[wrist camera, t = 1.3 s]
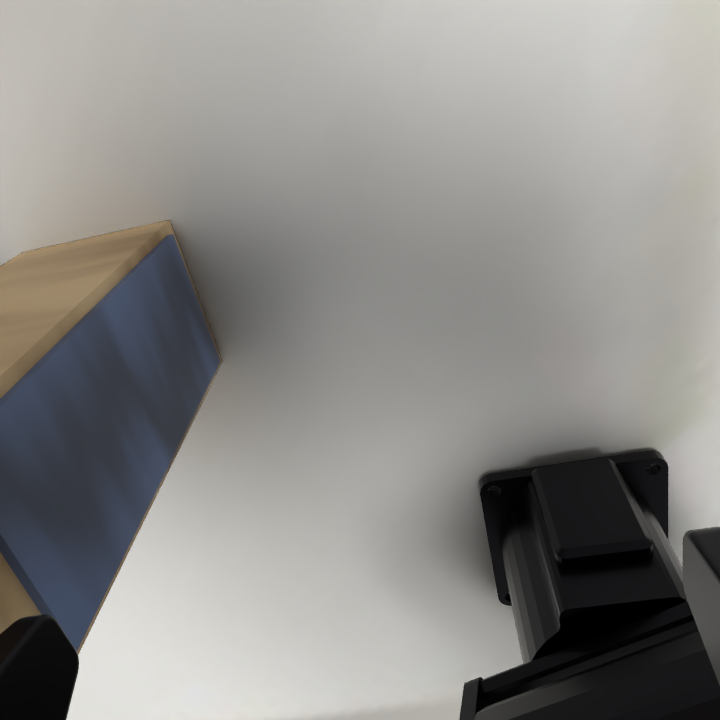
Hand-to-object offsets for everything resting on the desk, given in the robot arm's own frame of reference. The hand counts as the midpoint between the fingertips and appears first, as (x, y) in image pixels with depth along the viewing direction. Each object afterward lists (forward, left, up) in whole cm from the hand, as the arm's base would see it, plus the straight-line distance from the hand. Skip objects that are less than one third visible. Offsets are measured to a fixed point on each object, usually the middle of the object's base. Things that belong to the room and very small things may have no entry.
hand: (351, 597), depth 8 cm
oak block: (0, +8, -13) cm, 15 cm away
